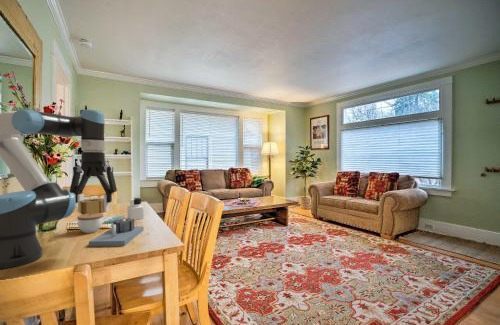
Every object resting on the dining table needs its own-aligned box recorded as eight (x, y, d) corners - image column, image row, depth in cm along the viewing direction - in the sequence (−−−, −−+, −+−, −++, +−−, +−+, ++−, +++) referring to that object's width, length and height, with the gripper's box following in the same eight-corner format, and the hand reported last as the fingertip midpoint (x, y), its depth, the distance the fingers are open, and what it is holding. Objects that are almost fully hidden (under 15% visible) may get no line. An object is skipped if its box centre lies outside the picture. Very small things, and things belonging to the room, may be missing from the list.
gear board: (88, 246, 104) (88, 229, 104) (114, 230, 126) (114, 216, 126) (124, 245, 105) (124, 228, 105) (143, 230, 127) (143, 216, 127)
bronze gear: (74, 214, 93) (74, 202, 93) (88, 209, 102) (88, 198, 102) (99, 214, 93) (99, 202, 93) (111, 209, 102) (111, 198, 102)
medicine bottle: (140, 216, 156) (139, 197, 156) (143, 218, 150) (143, 198, 150) (127, 218, 151) (127, 198, 151) (130, 220, 146) (130, 199, 146)
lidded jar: (108, 228, 130) (108, 210, 130) (93, 234, 119) (93, 214, 119) (88, 227, 131) (88, 209, 131) (71, 234, 120) (71, 214, 120)
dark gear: (110, 233, 115) (110, 223, 115) (115, 228, 124) (115, 218, 123) (131, 232, 117) (131, 222, 117) (135, 226, 126) (135, 217, 126)
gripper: (56, 151, 93) (57, 213, 94) (117, 151, 94) (118, 213, 94) (70, 152, 101) (71, 209, 101) (126, 152, 101) (127, 209, 102)
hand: (93, 211), depth 98 cm, fingers closed on bronze gear, 9 cm apart
